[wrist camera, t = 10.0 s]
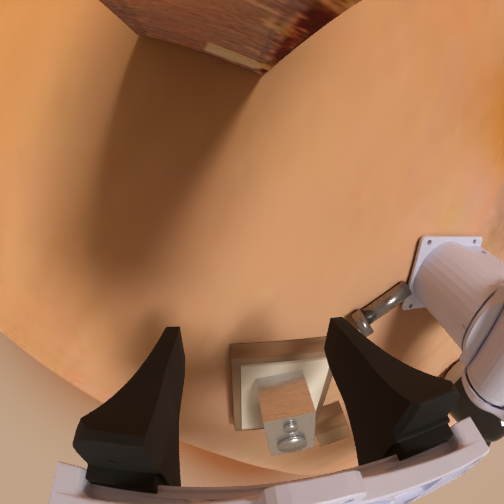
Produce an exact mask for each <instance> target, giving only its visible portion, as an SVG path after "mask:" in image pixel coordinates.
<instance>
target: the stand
mask: <svg viewBox="0 0 504 504" xmlns="http://www.w3.org/2000/svg"><path fill="white" fill-rule="evenodd" d="M326 337H327V336H325V337H317V338H307V339H297V340H286V341H273V342H259V343H242V344H230V350H231V373H232V394H233V413H234V426H235V431H242V430H256V429H264V424H263V419H262V413H261V407H260V401H259V395H258V389H257V383H256V378H262V377H268V376H273V375H278V374H283V373H288V372H293V371H298V370H303V373H304V376H305V379H306V382H307V385H308V389H309V392H310V395H311V398H312V401H313V404H314V408H315V411H316V417H315V422H317V420H318V417H319V415H320V412H321V409H322V406H323V403H324V400H325V397H326V394H327V391H328V388H329V385H330V381H331V378H332V372H331V370H330V368H329V365H328V362H327V358H326V354H325V351H324V346H325V341H326Z"/></svg>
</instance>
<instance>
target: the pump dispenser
mask: <svg viewBox="0 0 504 504" xmlns="http://www.w3.org/2000/svg"><path fill="white" fill-rule="evenodd" d="M464 367H465V366H464V365H463V363H462V362H461V361H458V362H457V363H456V364H455V365H454V366H453V367H452V368H451V369H450V370H449V371H448V373H447V374H446V376H445V378H444V379H446V380H450V381H452V383H453V384H454V386H455V387H456V389H457V390H458V392H459V394H460V396H459V399H458V401H457V403H456V404H455V406H454V407H453V408H452V410H451V411H450V412H449V414H450V415H451V416H452V417H453V418H454V419H455V420H456V421H457V422H460V421H462V420H463V419H465V418H467V417H470V418H471V419H472V421H473V422H474V424H475V426H476V427H477V429H478V431H479V432H480V434H481V436H482V437H483V439H484V441H485V442H486V444H487V446H488V447H489V446H490V444H491V442H494V441H497V440H499V439H501V438H502V437H503V436H504V422H503V421H502V420H501V419H500V418H498V417H497V416H495V415H494V414H492V413H490V412H487V411H484V410H482V409H480V408H479V407H477V406H476V405H475V404H474V403H473V402H472V401H471V400H470V398H469V397H468V395H467V393H466V391H465V389H464V386H463V383H462V371H463V369H464Z"/></svg>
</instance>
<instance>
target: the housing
mask: <svg viewBox="0 0 504 504" xmlns="http://www.w3.org/2000/svg"><path fill="white" fill-rule="evenodd" d="M256 383H257V389H258V395H259V401H260V407H261V413H262V419H263V424H264V429H265V433H266V437H267V441H268V445H269V449H270V453H271V456H274V455H280V454H285V453H290V452H295V451H300V450H304V449H309V448H313V447H314V437H315V417H316V411H315V408H314V404H313V401H312V398H311V395H310V392H309V389H308V385H307V382H306V379H305V376H304V373H303V370H298V371H293V372H288V373H283V374H278V375H273V376H268V377H262V378H256Z"/></svg>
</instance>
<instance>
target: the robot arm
mask: <svg viewBox="0 0 504 504" xmlns="http://www.w3.org/2000/svg"><path fill="white" fill-rule="evenodd" d="M428 241H429V242H428ZM427 242H428V243H427ZM481 244H482V237H480V236H423V237H422V238H421V239H420V241H419V245H418V249H417V254H416V257H415V261H414V265H413V269H412V272H411V276H410V280H409V283H408V287H409V288H410V290H411V293H412V295H410V296H409V297H408V298H406V299H405V300H404V301H403V303H402V306H401V307H402V309H403V310H411V309H417V308H423V307H425V308H426V309H427V310H428V311H429V312H430V313H431V314H432V315H433V317H434V318H435V319H436V320H437V321H438V322H439V323H440V325H441V326H442V327H443V328H444V329H445V330H446V332H447V333H448V334H449V335H450V336H451V338H452V339H453V340H454V341H455V342H456V344H457V345H458V346H459V347H460V348H461V350H462V353H461V355H460V357H459V359H460V361H461V362H462V363H463V365H464V366H465V367H464V369H463V371H462V383H463V386H464V389H465V391H466V393H467V395H468V397H469V398H470V400H471V401H472V402H473V403H474V404H475V405H476V406H477V407H479V408H480V409H482V410H484V411H487V412H490V413H492V414H494V415H495V416H497V417H498V418H500V419H501V420H502V421H503V422H504V263H503V262H502V261H501V260H499V259H498V258H496V257H495V256H494V255H492V254H491V253H489V252H488V251H487V250H485V249H484V248H482V247H481ZM324 351H325V354H326V358H327V362H328V365H329V368H330V370H331V372H332V375H333V377H334V380H335V382H336V384H337V386H338V389H339V391H340V393H341V396H342V398H343V401H344V403H345V406H346V409H347V413H348V416H349V420H350V424H351V428H352V432H353V436H354V441H355V446H356V451H357V458H358V464H359V466H357V467H354V468H350V469H346V470H342V471H338V472H334V473H330V474H325V475H320V476H315V477H310V478H304V479H298V480H292V481H285V482H278V483H269V484H260V485H249V486H232V487H181V480H180V464H179V413H180V406H181V398H182V391H183V384H184V377H185V354H184V349H183V343H182V337H181V332H180V327H166V328H165V330H164V332H163V333H162V335H161V337H160V339H159V340H158V342H157V344H156V345H155V347H154V349H153V350H152V352H151V353H150V355H149V356H148V358H147V359H146V360H145V362H144V363H143V364H142V366H141V367H140V368H139V370H138V371H137V372H136V373H135V374H134V376H133V377H132V378H131V379H130V380H129V381H128V382H127V383H126V384H125V385H124V386H123V387H122V388H121V389H120V390H119V391H118V392H117V393H116V394H115V395H114V396H113V397H111V398H110V399H109V400H107V401H106V402H105V403H104V404H102V405H101V406H100V407H98V408H97V409H95V410H94V411H92V412H90V413H89V414H87V415H86V416H84V417H82V418H81V419H80V422H79V424H78V426H77V429H76V433H75V436H74V440H73V447H74V449H75V450H76V452H77V453H78V454H79V455H80V456H81V457H82V458H83V459H84V460H85V461H86V462H87V463H88V468H87V470H86V469H84V468H82V467H79V466H75V465H71V464H67V463H63V462H58V463H57V467H56V471H55V476H54V480H53V484H52V489H51V494H50V499H49V504H409V503H411V502H413V501H415V500H417V499H419V498H421V497H423V496H425V495H427V494H429V493H430V492H432V491H434V490H436V489H438V488H440V487H441V486H443V485H445V484H447V483H448V482H450V481H452V480H454V479H456V478H457V477H459V476H461V475H462V474H464V473H465V472H466V471H467V470H469V469H470V468H471V467H472V466H474V465H475V464H476V463H477V462H478V461H479V460H481V459H482V458H483V457H484V456H485V455H486V454H487V453H488V452H489V451H490V449H489V447H488V446H487V444H486V442H485V441H484V439H483V437H482V436H481V434H480V432H479V431H478V429H477V427H476V426H475V424H474V422H473V421H472V419H471V418H470V417H467V418H465V419H463V420H462V421H460V422H458V423H456V424H454V425H453V426H451V427H449V425H448V424H447V423H449V422H450V419H449V418H448V416H447V415H448V414H449V412H450V411H451V410H452V408H453V407H454V406H455V404H456V403H457V401H458V399H459V396H460V394H459V392H458V390H457V389H456V387H455V386H454V384H453V383H452V381H450V380H446V379H442V378H439V377H435V376H432V375H430V374H427V373H424V372H422V371H419V370H417V369H415V368H413V367H411V366H408V365H406V364H405V363H403V362H401V361H399V360H397V359H396V358H394V357H392V356H391V355H389V354H388V353H386V352H385V351H383V350H382V349H381V348H379V347H378V346H376V345H375V344H374V343H373V342H371V341H370V340H369V339H368V338H366V337H365V336H364V335H363V334H362V333H360V332H359V331H358V330H357V329H356V328H354V327H353V326H352V325H351V324H350V323H349V322H347V321H346V320H345V319H344V318H343V317H337V318H330V323H329V328H328V332H327V337H326V341H325V346H324Z"/></svg>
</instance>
